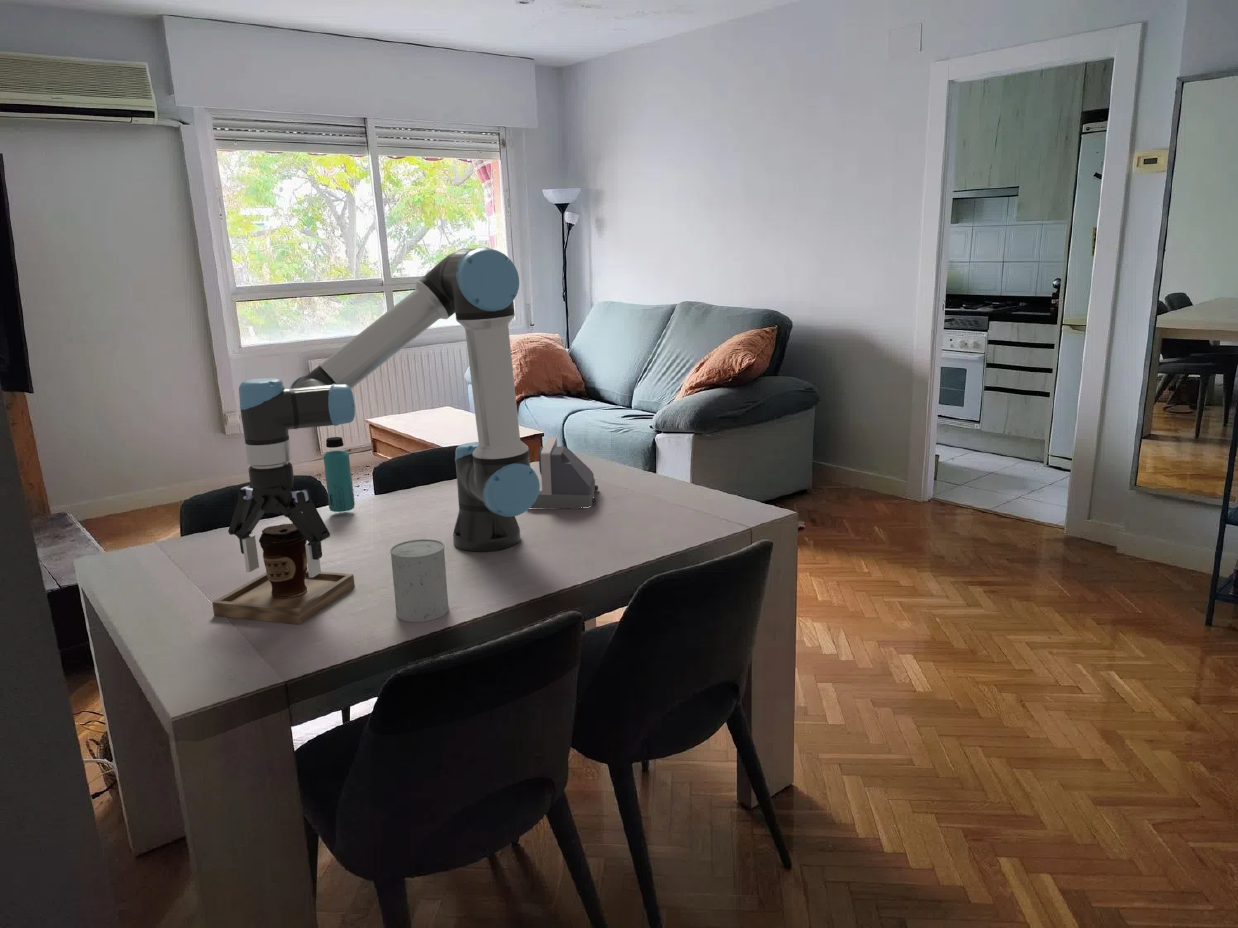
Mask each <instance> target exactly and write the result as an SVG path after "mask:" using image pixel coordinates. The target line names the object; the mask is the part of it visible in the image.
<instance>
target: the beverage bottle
mask: <svg viewBox="0 0 1238 928" xmlns="http://www.w3.org/2000/svg"><path fill="white" fill-rule="evenodd" d="M325 441H326V442H325V443H326V444H325V445H326V447H325V448H329V449H330V448H332V449H330V450H327V451H326V452H325V453H324V455H323V456H322V459H323V465H324V474H325V475H324V477H325V482H326V485H325V487H326V495H327V497H326V498H327V503H328V508H329V511H331V512H334V513H342V512H344V513H345V512H349V511H351V510H354V508H355V506H356V503H355V500H356V499H355V490H354V489H353V487H354V485H353V483H354V482H353V479H352V478H353V477H352V470H351V461H350V454H349V452H347V451H346V450H345V449H340V448H341V447H344V441H343V437H341V436H331V437H328V438H326V439H325ZM334 448H335V449H334ZM336 448H337V449H336Z"/></svg>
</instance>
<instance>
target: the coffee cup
mask: <svg viewBox="0 0 1238 928" xmlns="http://www.w3.org/2000/svg"><path fill="white" fill-rule="evenodd" d="M258 542H259V545H260V548H261V549H262V557H263V558H262V559H263V563H264V568H265V571H266V572H267V577H268V580H269V581H270V582H271V585H272V596H274V597H278V598H288V597H295V596H299V595H302V594H304V593H306V592H307V590H308V589H307V587H306V585H305V582H304V580H305V573H306V571H307V570H308V564H307V556H306V547H305V544H307V543H308V541H307V539H306V538H305V537H304V536H303V535H302V533H301V532H300V531H299V530H298V529H297V528H296V526H295V525H294V524H293V523H292V522H291V523H282V524H278V525H271V526H266V527H265V528H263V529H262V530H261V534H260V537H259V539H258ZM266 572H265V573H266Z"/></svg>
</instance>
